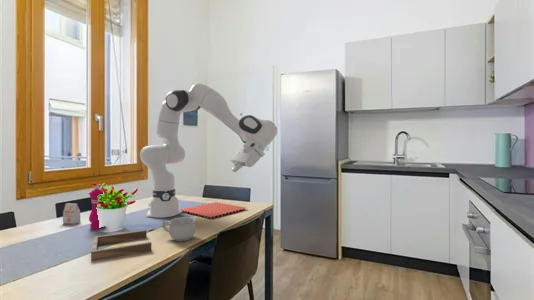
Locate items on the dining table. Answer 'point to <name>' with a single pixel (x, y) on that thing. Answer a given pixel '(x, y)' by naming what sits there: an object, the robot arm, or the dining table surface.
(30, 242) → the dining table surface
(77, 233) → the dining table surface
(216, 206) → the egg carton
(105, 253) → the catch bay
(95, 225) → the pepper mill
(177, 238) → the teacup
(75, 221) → the small food carton
